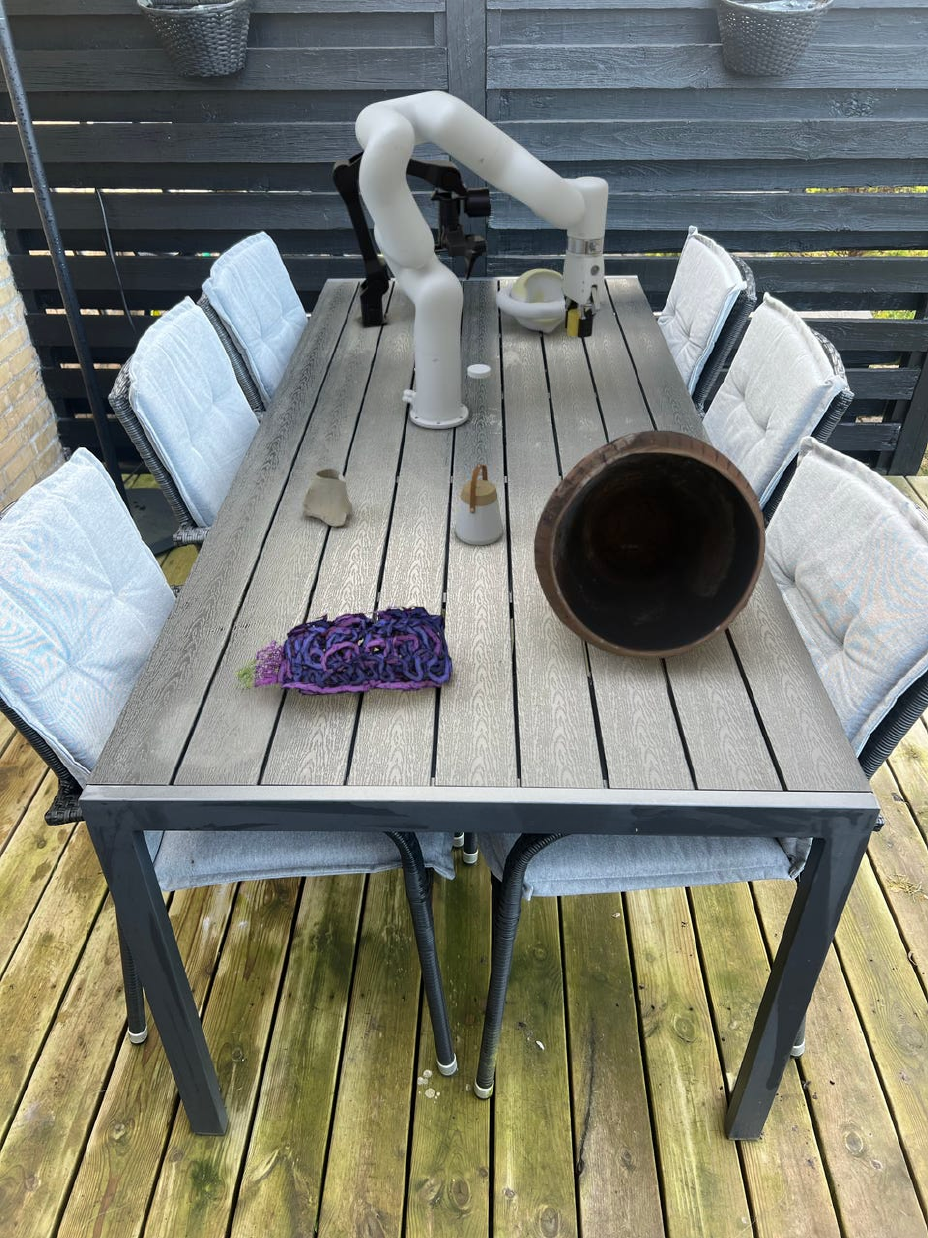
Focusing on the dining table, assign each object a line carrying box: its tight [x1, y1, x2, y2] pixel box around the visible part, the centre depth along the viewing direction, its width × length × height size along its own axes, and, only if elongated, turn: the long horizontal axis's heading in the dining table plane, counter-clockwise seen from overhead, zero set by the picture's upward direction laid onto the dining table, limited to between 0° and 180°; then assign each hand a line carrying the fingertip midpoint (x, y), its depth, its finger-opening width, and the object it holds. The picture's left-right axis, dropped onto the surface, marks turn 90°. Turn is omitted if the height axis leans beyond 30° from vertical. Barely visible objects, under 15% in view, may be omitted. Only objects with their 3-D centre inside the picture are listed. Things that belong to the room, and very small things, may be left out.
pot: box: [533, 429, 767, 660], centre depth 139 cm, size 32×32×30 cm
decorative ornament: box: [235, 605, 454, 697], centre depth 129 cm, size 13×11×30 cm
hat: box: [495, 268, 580, 334], centre depth 236 cm, size 25×22×15 cm
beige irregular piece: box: [301, 468, 353, 528], centre depth 164 cm, size 9×8×10 cm
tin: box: [566, 308, 588, 338], centre depth 198 cm, size 5×5×5 cm
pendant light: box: [455, 363, 503, 546], centre depth 153 cm, size 8×8×30 cm
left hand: (450, 281), depth 242 cm, fingers open, 9 cm apart
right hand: (577, 331), depth 200 cm, fingers closed on tin, 4 cm apart
